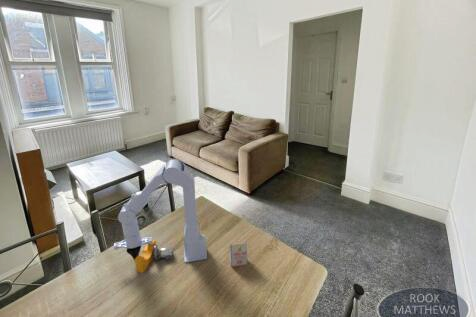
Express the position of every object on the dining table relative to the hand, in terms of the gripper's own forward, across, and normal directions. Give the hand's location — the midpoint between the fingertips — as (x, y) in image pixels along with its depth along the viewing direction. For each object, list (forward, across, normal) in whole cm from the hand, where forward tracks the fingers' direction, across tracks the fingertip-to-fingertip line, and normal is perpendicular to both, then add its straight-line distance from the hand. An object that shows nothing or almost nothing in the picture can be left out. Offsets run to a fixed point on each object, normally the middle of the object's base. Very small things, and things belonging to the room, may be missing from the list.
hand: (136, 259), depth 100 cm
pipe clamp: (+1, -4, +1) cm, 4 cm away
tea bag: (+1, -41, +11) cm, 43 cm away
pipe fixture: (+1, -11, 0) cm, 11 cm away
